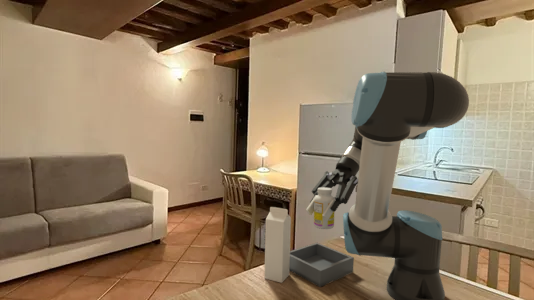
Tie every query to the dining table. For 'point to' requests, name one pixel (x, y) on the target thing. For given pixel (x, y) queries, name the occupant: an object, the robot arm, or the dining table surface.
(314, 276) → the open box
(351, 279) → the dining table surface
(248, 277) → the dining table surface
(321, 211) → the supplement bottle
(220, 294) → the dining table surface
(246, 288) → the dining table surface
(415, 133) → the robot arm
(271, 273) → the milk
